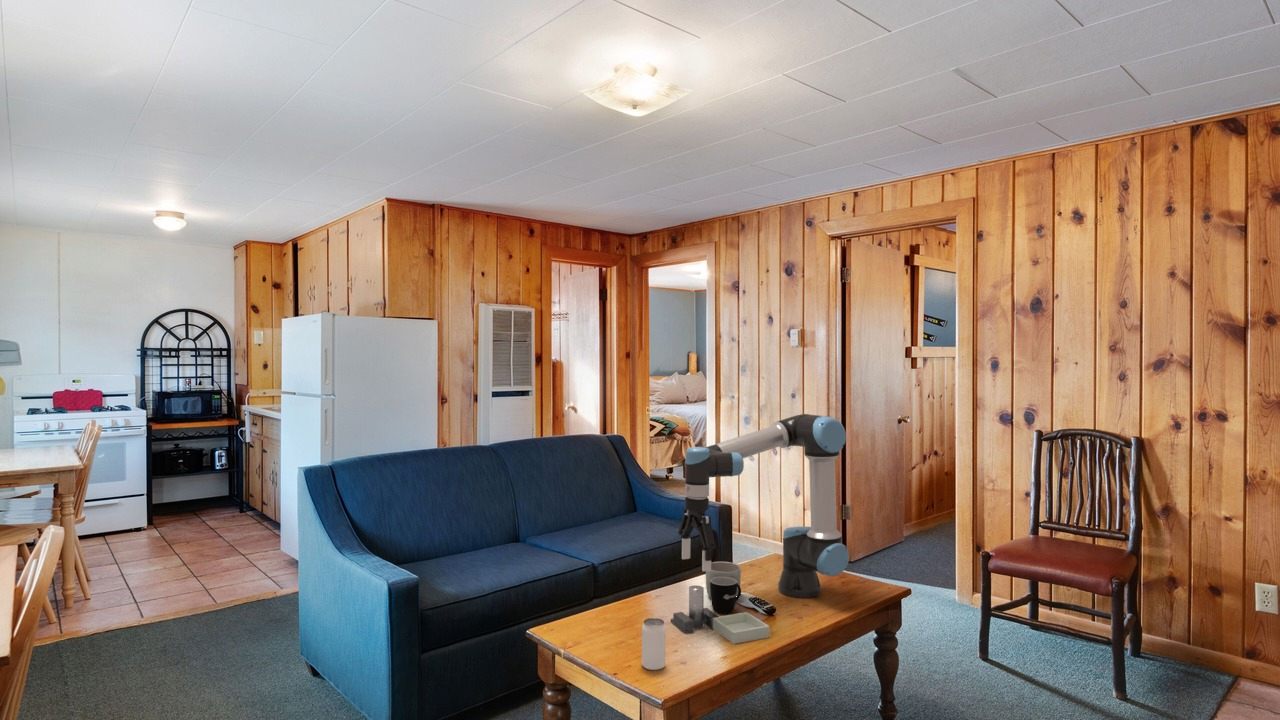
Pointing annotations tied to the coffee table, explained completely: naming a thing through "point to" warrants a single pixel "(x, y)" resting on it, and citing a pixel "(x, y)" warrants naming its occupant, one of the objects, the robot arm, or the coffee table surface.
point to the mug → (724, 594)
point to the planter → (723, 573)
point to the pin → (696, 605)
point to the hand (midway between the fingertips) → (695, 564)
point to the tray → (740, 627)
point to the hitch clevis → (688, 624)
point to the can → (653, 644)
